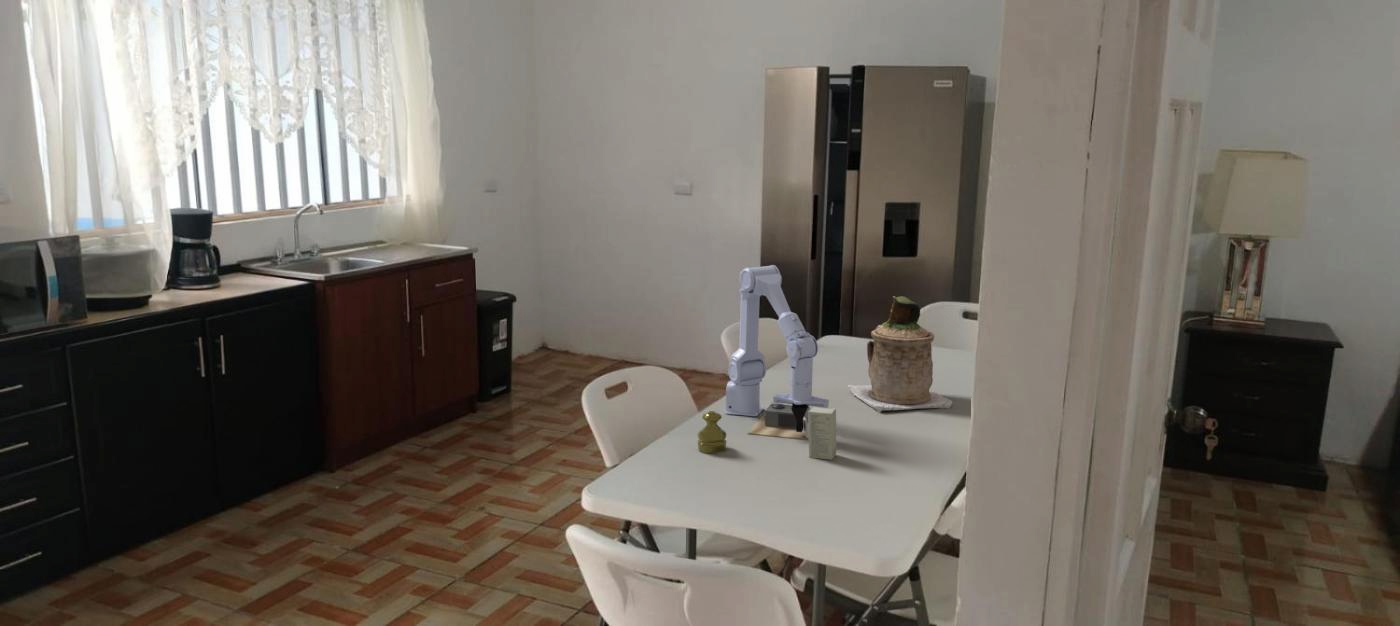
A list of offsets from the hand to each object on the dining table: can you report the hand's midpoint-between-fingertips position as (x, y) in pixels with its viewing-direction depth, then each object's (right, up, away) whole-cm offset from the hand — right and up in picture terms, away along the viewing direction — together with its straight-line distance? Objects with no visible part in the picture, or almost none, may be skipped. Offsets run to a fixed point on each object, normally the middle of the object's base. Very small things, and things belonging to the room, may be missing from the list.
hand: (800, 430), depth 258 cm
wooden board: (-3, 0, +8) cm, 8 cm away
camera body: (-2, 0, +10) cm, 10 cm away
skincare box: (+4, -5, -14) cm, 16 cm away
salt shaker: (-23, -4, -8) cm, 25 cm away
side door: (+2, -1, +1) cm, 2 cm away
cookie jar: (+33, +5, +33) cm, 47 cm away
